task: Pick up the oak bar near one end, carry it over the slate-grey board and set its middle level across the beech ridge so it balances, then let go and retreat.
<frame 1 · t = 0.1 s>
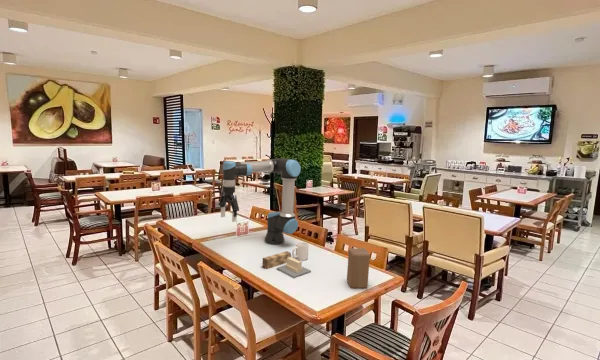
hand: (228, 219, 211), 28 cm above the table, fingers open, 13 cm apart
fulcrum: (293, 270, 205), on the table
cup: (299, 259, 225), on the table
wooden block: (356, 284, 191), on the table
oak bar: (276, 264, 214), on the table
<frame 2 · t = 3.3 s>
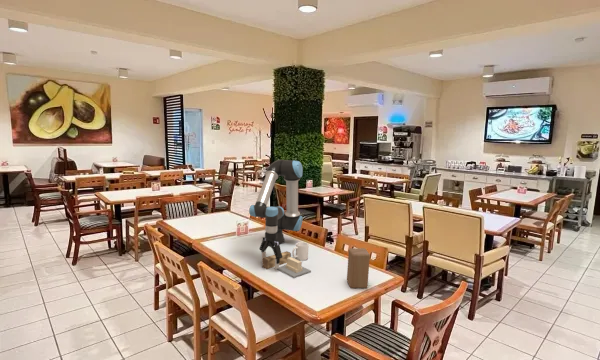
hand: (270, 264, 210), 1 cm above the table, fingers open, 13 cm apart
nothing on the table moved.
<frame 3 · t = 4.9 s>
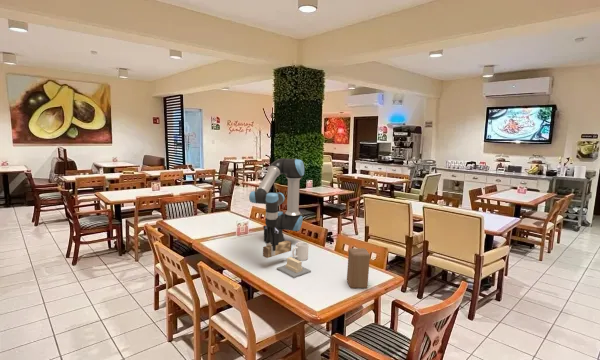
hand: (270, 254, 210), 8 cm above the table, fingers closed on oak bar, 4 cm apart
oak bar: (277, 253, 214), point 7 cm above the table, touching gripper
everything else where it was.
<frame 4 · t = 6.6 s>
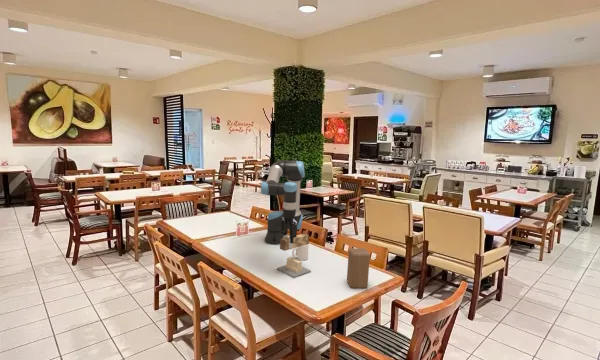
hand: (287, 246, 199), 16 cm above the table, fingers closed on oak bar, 4 cm apart
oak bar: (294, 246, 203), point 16 cm above the table, touching gripper
everything else where it was.
when the fingers open (7 cm above the table, at t = 8.6 s): oak bar stays where it is, resting on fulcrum.
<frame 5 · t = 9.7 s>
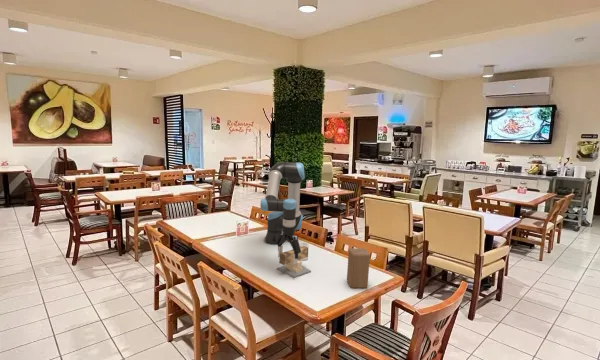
hand: (287, 260, 201), 8 cm above the table, fingers open, 13 cm apart
oak bar: (294, 259, 204), point 7 cm above the table, touching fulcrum
everything else where it was.
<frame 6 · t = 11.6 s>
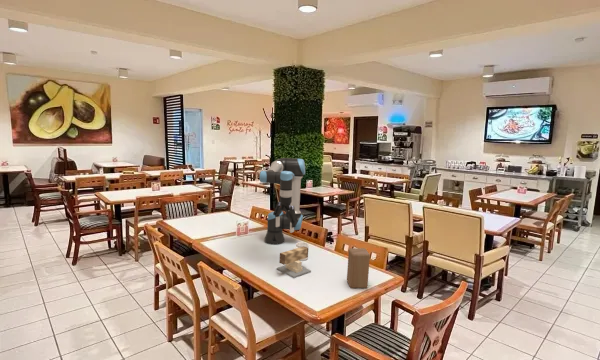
hand: (284, 229, 210), 24 cm above the table, fingers open, 13 cm apart
nothing on the table moved.
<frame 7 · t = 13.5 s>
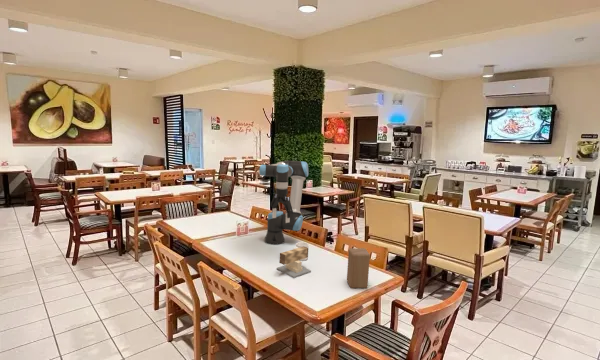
hand: (280, 220, 219), 27 cm above the table, fingers open, 13 cm apart
nothing on the table moved.
at the end: oak bar 0.2 cm off-centre on the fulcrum, point 7.0 cm above the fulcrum's base; oak bar tilted 0°; the gripper is holding nothing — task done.
